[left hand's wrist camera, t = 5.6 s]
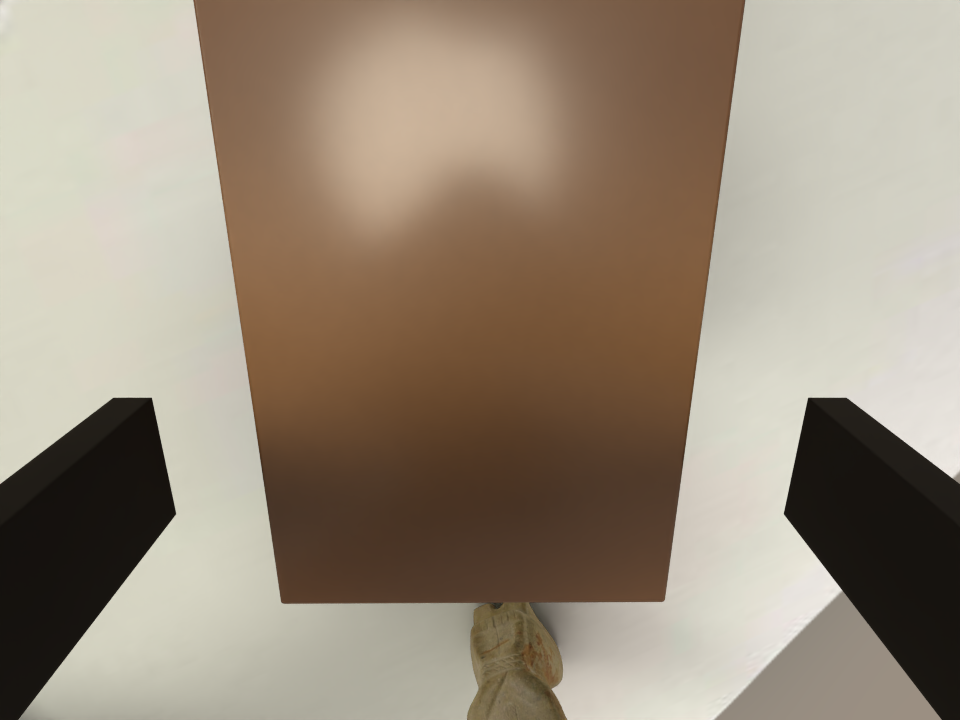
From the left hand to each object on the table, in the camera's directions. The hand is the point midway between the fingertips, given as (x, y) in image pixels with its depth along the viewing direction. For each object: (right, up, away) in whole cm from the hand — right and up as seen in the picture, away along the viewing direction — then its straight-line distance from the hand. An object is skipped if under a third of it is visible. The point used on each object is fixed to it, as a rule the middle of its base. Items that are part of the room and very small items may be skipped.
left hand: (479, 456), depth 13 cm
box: (0, +11, +8) cm, 13 cm away
